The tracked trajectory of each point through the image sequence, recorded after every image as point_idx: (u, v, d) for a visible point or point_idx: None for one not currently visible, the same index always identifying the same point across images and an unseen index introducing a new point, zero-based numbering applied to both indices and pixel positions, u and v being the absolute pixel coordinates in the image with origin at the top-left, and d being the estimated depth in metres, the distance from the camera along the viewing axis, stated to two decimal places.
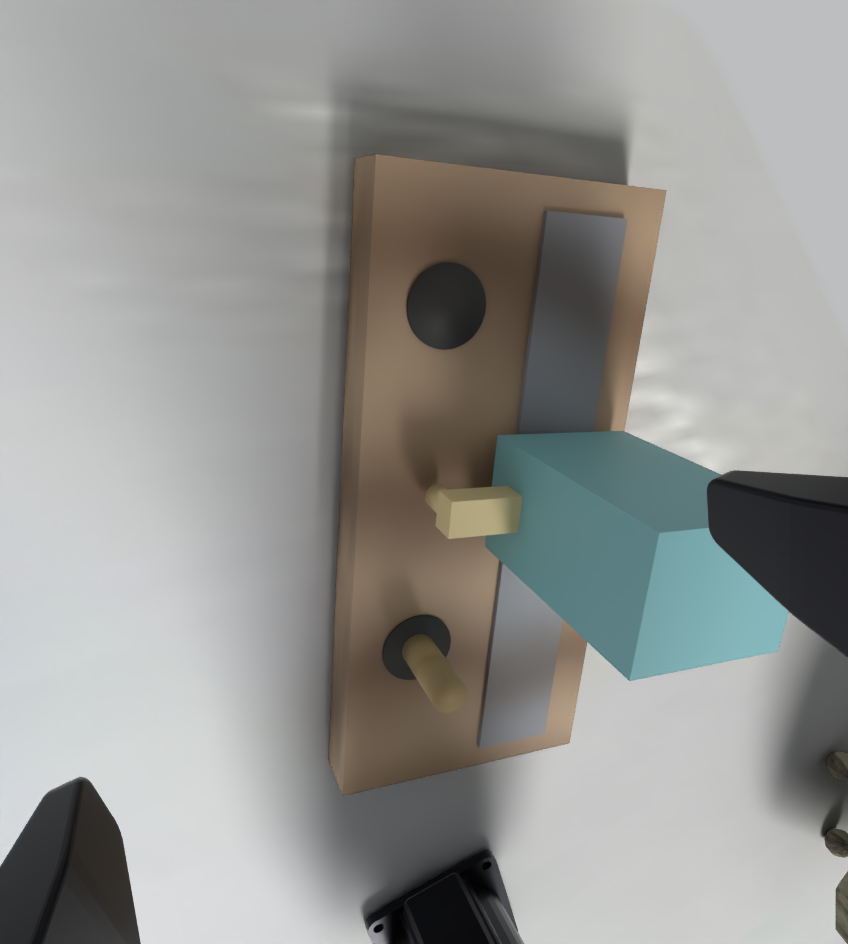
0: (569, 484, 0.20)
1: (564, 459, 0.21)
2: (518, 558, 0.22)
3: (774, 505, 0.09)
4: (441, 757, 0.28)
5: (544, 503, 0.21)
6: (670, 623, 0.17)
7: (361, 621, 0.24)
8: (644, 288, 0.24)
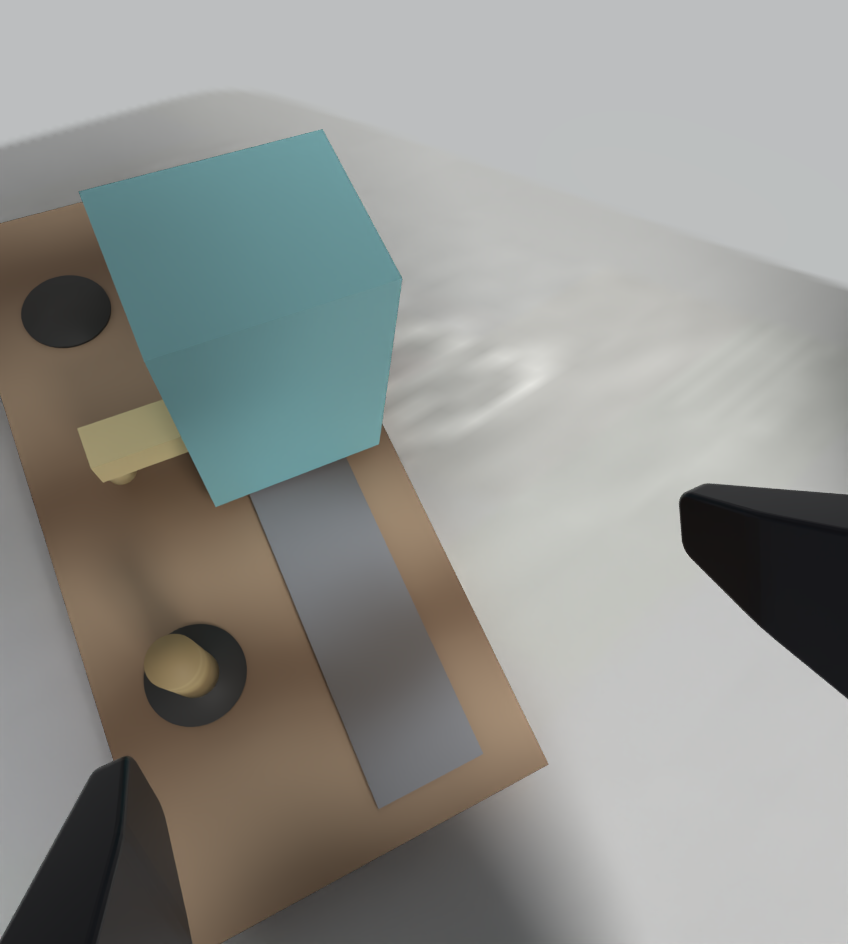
0: None
1: None
2: None
3: (744, 520, 0.09)
4: (325, 847, 0.18)
5: None
6: (168, 279, 0.13)
7: (98, 660, 0.18)
8: None
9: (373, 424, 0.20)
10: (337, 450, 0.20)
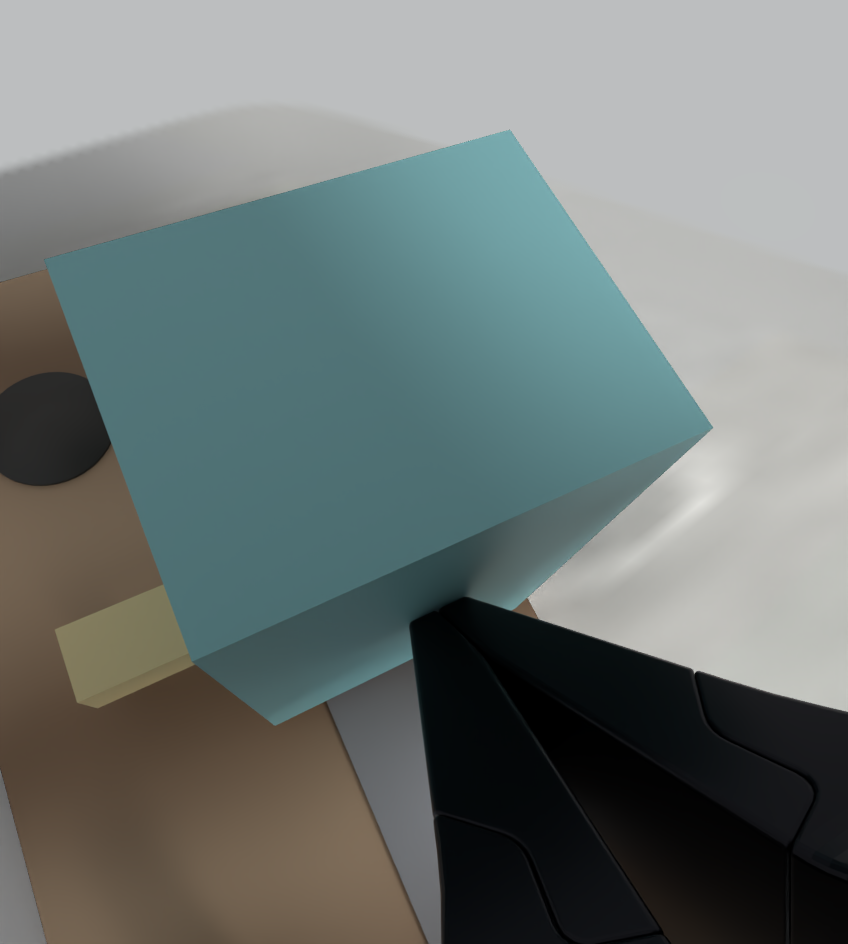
0: None
1: None
2: None
3: None
4: None
5: None
6: (238, 450, 0.06)
7: None
8: None
9: (524, 594, 0.12)
10: None
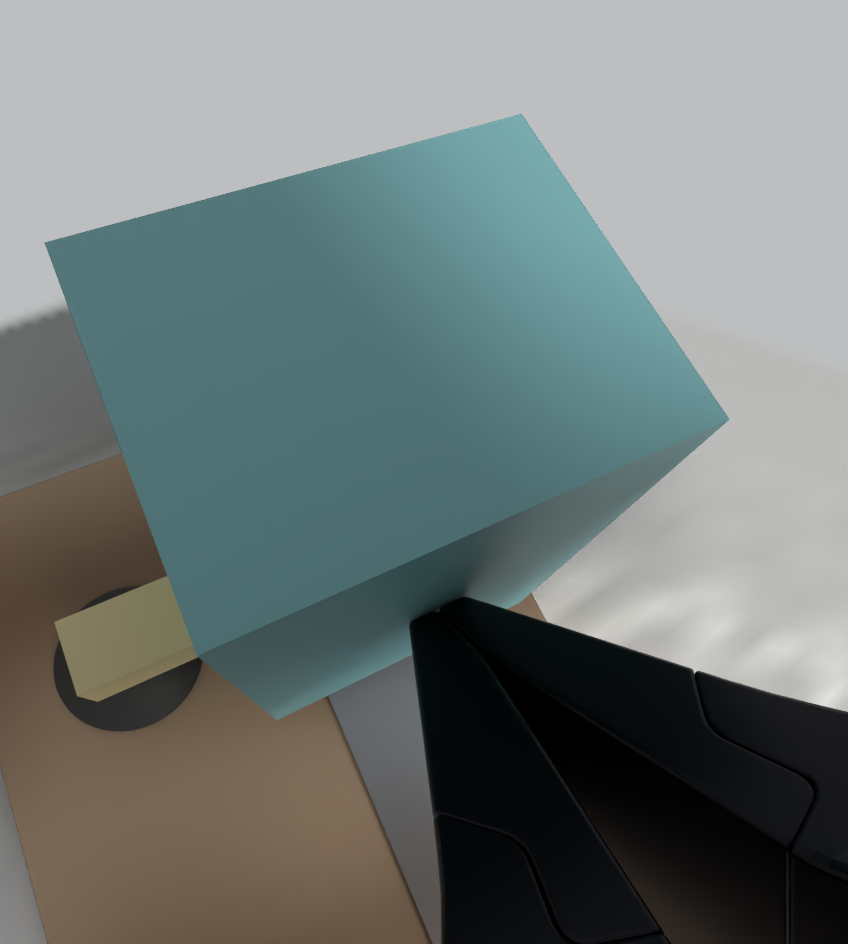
0: None
1: None
2: None
3: None
4: None
5: None
6: (245, 439, 0.06)
7: None
8: None
9: (529, 589, 0.12)
10: None
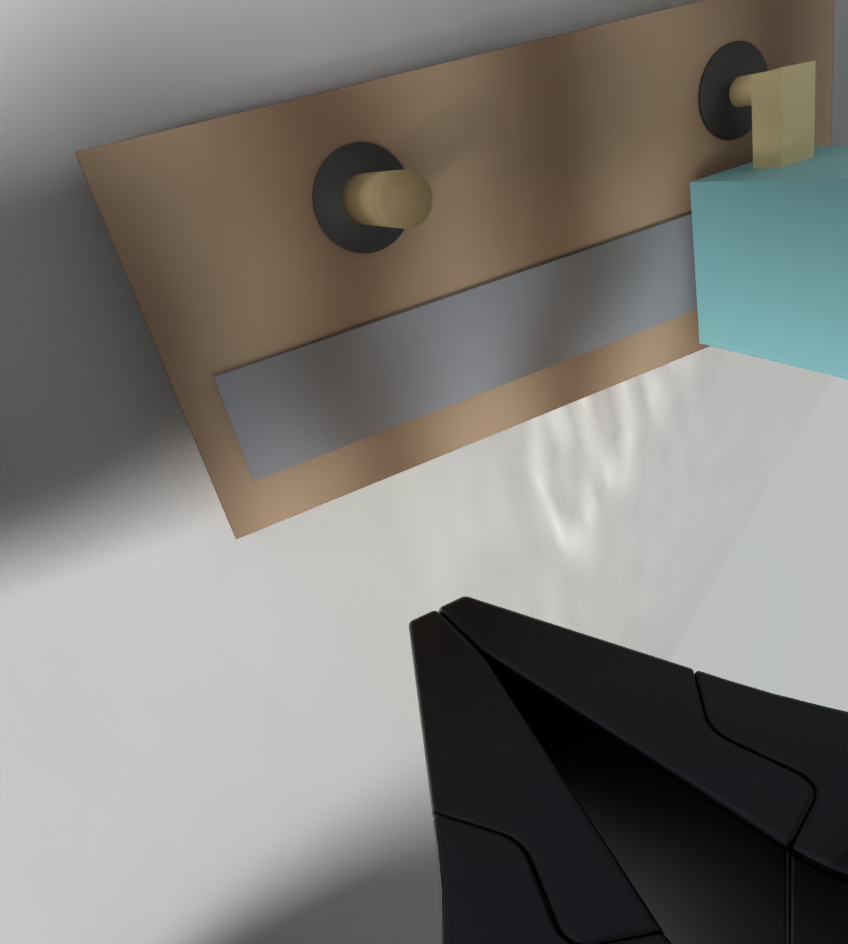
0: None
1: None
2: (766, 174, 0.19)
3: None
4: (180, 320, 0.17)
5: None
6: None
7: (390, 93, 0.17)
8: None
9: (737, 344, 0.22)
10: (713, 306, 0.22)
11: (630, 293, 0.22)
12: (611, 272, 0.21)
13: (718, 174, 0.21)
